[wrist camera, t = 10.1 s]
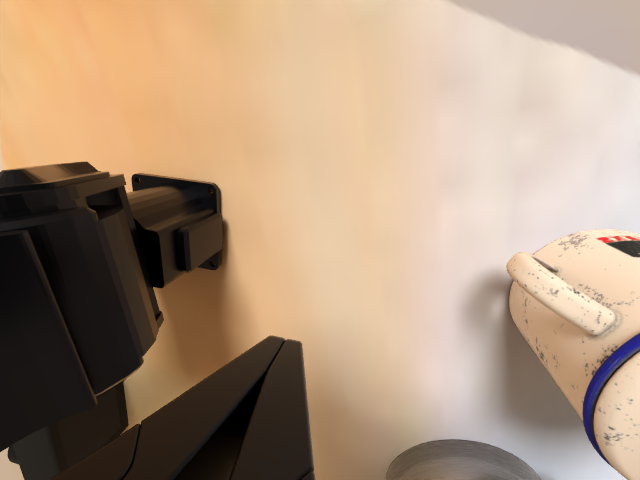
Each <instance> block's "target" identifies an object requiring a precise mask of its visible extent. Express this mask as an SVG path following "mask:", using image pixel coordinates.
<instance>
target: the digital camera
mask: <svg viewBox="0 0 640 480" xmlns="http://www.w3.org/2000/svg"><path fill="white" fill-rule="evenodd" d="M96 399H97V405H96V406H95V407H94V408H92V409H90V410H87V411H84V412H81V413H78V414H75V415H72V416H69V417H66V418H63V419H61V420H59V421H57V422H55V423H53V424H50V425H48V426H46V427H44V428H42V429H40V430H38V431H35V432H33V433H32V434H30V435H28V436H26V437H25V438H23V439H21V440H19V441H18V442H16V443H14V444H12V445H11V446H9V449H8V458H9V460H10V461H11V462H13V463H16V464H19V465H20V468H21V471H22V474H23V477H24V479H25V480H49V479H50V478H52V477H54V476H56V475H57V474H59V473H61V472H62V471H64V470H66V469H67V468H69V467H71V466H72V465H74V464H76V463H77V462H79V461H81V460H82V459H84V458H86V457H87V456H89V455H90V454H92V453H93V452H95V451H97V450H98V449H100V448H101V447H103V446H104V445H106V444H108V443H109V442H111V441H112V440H114V439H115V438H117V437H118V436H120V434H121V433H122V432H123V431H124V430H125V429H126V427H127V426H128V418H127V410H126V402H125V394H124V386H123V382H122V383H120V384H119V385H118V386H116V387H115V388H114V389H112V390H110V391H108V392H107V393H105V394H103V395H102V396H99V397H97V398H96Z"/></svg>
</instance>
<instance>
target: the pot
mask: <svg viewBox="0 0 640 480" xmlns="http://www.w3.org/2000/svg"><path fill="white" fill-rule="evenodd" d="M385 480H541V479H540V477H539V476H538V475H537V474H536V472H535V471H534V470H533V469H532V468H531V467H530V466H529V465H527V464H526V463H525V462H524V461H522V460H521V459H519V458H518V457H516V456H514V455H512V454H511V453H509V452H507V451H504V450H502V449H500V448H497V447H494V446H491V445H488V444H484V443H479V442H475V441H467V440H439V441H432V442H427V443H424V444H420V445H418V446H415V447H412V448H410V449H409V450H407V451H405V452H403V453H402V454H401V455H399V456H398V457H397V458H396V459H395V460H394V461H393V463H392V464H391V465H390V467H389V469H388V471H387V474H386V479H385Z"/></svg>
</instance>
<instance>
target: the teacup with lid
mask: <svg viewBox="0 0 640 480" xmlns="http://www.w3.org/2000/svg"><path fill="white" fill-rule="evenodd" d="M507 271H508V273H509V275H510V276H511V277H512V279H513V280H514V281H513V284H512V287H511V291H510V297H509V306H510V312H511V315H512V318H513V320H514V323H515V324H516V326H517V328H518V329H519V331H520V332H521V334H522V335H523V336H524V338H525V339H526V341H527V342H528V343H529V345H530V346H531V348H532V349H533V351H534V352H535V353H536V355H537V356H538V358H539V359H540V361H541V362H542V363H543V365H544V366H545V368H546V369H547V370H548V372H549V373H550V375H551V376H552V378H553V379H554V380H555V382H556V383H557V385H558V386H559V387H560V389H561V390H562V392H563V393H564V395H565V396H566V397H567V399H568V400H569V402H570V403H571V405H572V406H573V407H574V409H575V410H576V412H577V413H578V414H579V416H580V417H581V419H582V420H583V423H584V427H585V431H586V433H587V435H588V438H589V440H590V442H591V443H592V445H593V447H594V448H595V449H596V451H597V452H598V453H599V455H600V456H601V457H602V458H603V459H604V460H605V461H606V462H607V463H608V464H609V465H611V466H612V467H613V468H614V469H616V470H617V471H618V472H619V473H620V474H621V475H622V476H624V477H625V478H626V479H627V480H640V234H637V233H633V232H629V231H624V230H616V229H595V230H588V231H582V232H578V233H574V234H570V235H567V236H565V237H562V238H560V239H557V240H555V241H553V242H551V243H550V244H548V245H546V246H544V247H543V248H541V249H540V250H539V251H537V252H536V253H535V254H534V255H532V254H530V253H527V252H519V253H517V254H515V255H514V256H513V257H512V258H511V259H510V260H509V262H508V263H507Z"/></svg>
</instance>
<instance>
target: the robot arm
mask: <svg viewBox="0 0 640 480" xmlns="http://www.w3.org/2000/svg"><path fill="white" fill-rule="evenodd" d="M139 179H140V180H141V183H140V182H139ZM124 185H126V182H125V178H124V175H123V174H116V175H110V174H109V172H101V171H98V170H96V169H95V168H94V167H93V166H92V165H91V164H89V163H88V162H75V163H64V164H53V165H43V166H34V167H26V168H18V169H10V170H2V171H1V172H0V452H1V451H2V450H4V449H6V448H8V447H9V446H11V445H12V444H14V443H16V442H18V441H19V440H21V439H23V438H25V437H26V436H28V435H30V434H32V433H33V432H35V431H38V430H40V429H42V428H44V427H46V426H48V425H50V424H53V423H55V422H57V421H59V420H61V419H63V418H66V417H69V416H72V415H75V414H78V413H81V412H84V411H87V410H90V409H92V408H94V407H95V406H96V405H97V399H96V398H97V397H99V396H102V395H103V394H105V393H107V392H108V391H110V390H112V389H114V388H115V387H116V386H118V385H119V384H120V383H122V382H123V381H124V380H125V379H126V378H128V377H129V376H130V375H131V374H133V373H134V372H135V371H136V370H138V369H139V367H140V366H141V365H142V364H143V362H144V360H143V357H142V356H144V355H145V353H146V352H147V351H148V350H149V348H150V347H151V346H152V345H153V343H154V342H155V340H156V337H157V334H158V331H159V328H160V326H161V324H162V323H163V321H164V318H163V314H162V312H161V311H159V307H158V304H157V300H156V297H155V293H154V290H153V287H157V288H163V287H164V286H166V285H167V284H169V283H170V282H172V281H173V280H174V279H176V278H177V277H179V276H180V275H182V274H183V273H184V272H187V273H189V272H190V271H192V270H193V269H195V268H196V267H199V268H204V269H210V270H216V269H218V268H219V267H220V266H221V249H222V248H223V236H222V216H221V214H220V194H219V188H218V186H217V185H216V184H215V183H210V182H203V181H196V180H188V179H181V178H173V177H166V176H158V175H151V174H143V173H138V174H134V175H133V176H132V187H133V192H129V193H126V190H125V187H124ZM209 188H212V189H213V194H212V193H211V192H210V190H209ZM212 261H214V262H215V264H216V265H214V264H213V263H212ZM313 471H314V465H313V455H312V444H311V434H310V423H309V412H308V402H307V391H306V381H305V370H304V359H303V349H302V343H301V342H300V341H296V340H291V339H287V340H285V339H284V338H282V337H277V336H269V337H267V338H265V339H264V340H262V341H261V342H259V343H258V344H256V345H255V346H253V347H252V348H250V349H249V350H247V351H246V352H244V353H243V354H241V355H240V356H238V357H237V358H235V359H234V360H232V361H231V362H229V363H228V364H226V365H225V366H223V367H222V368H220V369H219V370H217V371H216V372H215V373H213V374H212V375H210V376H209V377H207V378H206V379H204V380H203V381H201V382H200V383H198V384H197V385H195V386H194V387H192V388H191V389H189V390H188V391H186V392H185V393H183V394H182V395H180V396H179V397H177V398H176V399H174V400H173V401H171V402H170V403H168V404H167V405H165V406H164V407H162V408H161V409H159V410H158V411H156V412H155V413H153V414H152V415H150V416H149V417H147V418H146V419H144V420H143V421H142V422H141V425H140V424H136V425H135V426H133V427H132V428H130V429H129V430H127V431H126V432H124V433H123V434H121V435H120V436H118V437H117V438H115V439H114V440H112V441H111V442H109V443H108V444H106V445H104V446H103V447H101V448H100V449H98V450H97V451H95V452H93V453H92V454H90V455H89V456H87V457H86V458H84V459H82V460H81V461H79V462H77V463H76V464H74V465H72V466H71V467H69V468H67V469H66V470H64V471H62V472H61V473H59V474H57V475H56V476H54V477H52V478H50V479H49V480H315V474H314V472H313Z"/></svg>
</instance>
